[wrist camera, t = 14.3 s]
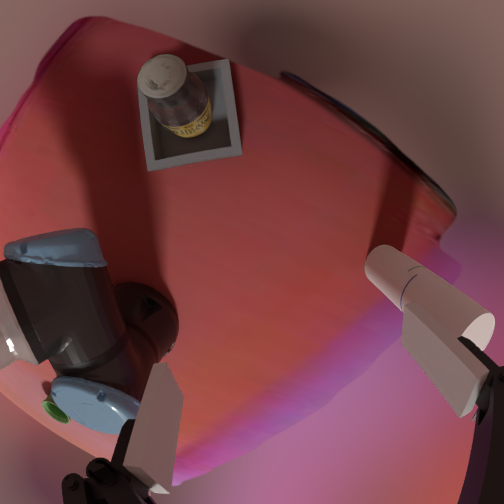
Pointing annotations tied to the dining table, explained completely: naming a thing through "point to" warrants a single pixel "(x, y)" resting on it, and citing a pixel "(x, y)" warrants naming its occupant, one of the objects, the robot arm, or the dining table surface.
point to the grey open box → (206, 144)
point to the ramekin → (55, 410)
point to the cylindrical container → (428, 294)
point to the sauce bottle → (175, 95)
